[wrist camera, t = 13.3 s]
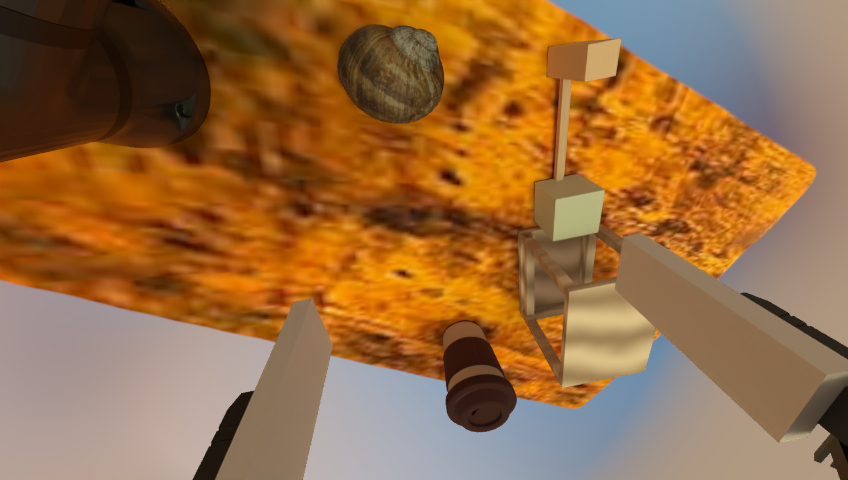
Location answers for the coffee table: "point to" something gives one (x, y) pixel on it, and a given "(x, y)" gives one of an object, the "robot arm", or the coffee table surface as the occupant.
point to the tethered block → (566, 195)
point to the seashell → (392, 72)
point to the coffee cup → (475, 380)
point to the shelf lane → (554, 276)
